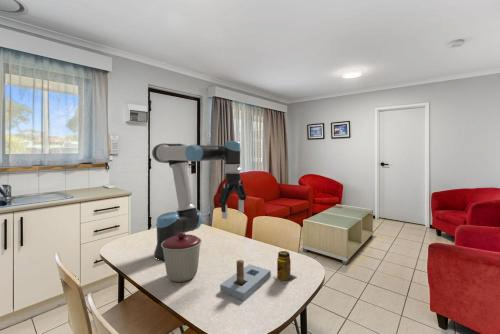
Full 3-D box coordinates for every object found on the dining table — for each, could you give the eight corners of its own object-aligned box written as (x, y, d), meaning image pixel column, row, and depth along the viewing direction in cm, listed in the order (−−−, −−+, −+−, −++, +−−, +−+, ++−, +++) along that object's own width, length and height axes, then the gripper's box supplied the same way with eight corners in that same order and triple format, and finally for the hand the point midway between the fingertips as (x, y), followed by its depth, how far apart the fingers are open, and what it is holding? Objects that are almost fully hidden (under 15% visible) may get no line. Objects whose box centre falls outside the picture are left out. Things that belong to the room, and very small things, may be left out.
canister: (155, 286, 106) (153, 239, 105) (170, 267, 124) (169, 226, 123) (196, 287, 106) (195, 239, 104) (205, 267, 124) (205, 226, 122)
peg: (235, 289, 104) (235, 262, 103) (239, 286, 106) (239, 259, 106) (241, 291, 102) (240, 263, 101) (245, 288, 105) (245, 261, 104)
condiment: (273, 278, 113) (273, 252, 113) (284, 271, 119) (284, 247, 118) (285, 284, 108) (285, 257, 107) (297, 277, 114) (297, 252, 113)
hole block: (220, 291, 103) (220, 284, 102) (249, 270, 121) (249, 264, 121) (243, 300, 96) (243, 293, 96) (270, 276, 114) (270, 270, 114)
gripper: (222, 175, 108) (223, 222, 110) (252, 171, 129) (253, 211, 130) (209, 174, 112) (210, 219, 114) (241, 170, 133) (241, 209, 134)
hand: (233, 215), depth 122 cm, fingers open, 13 cm apart
